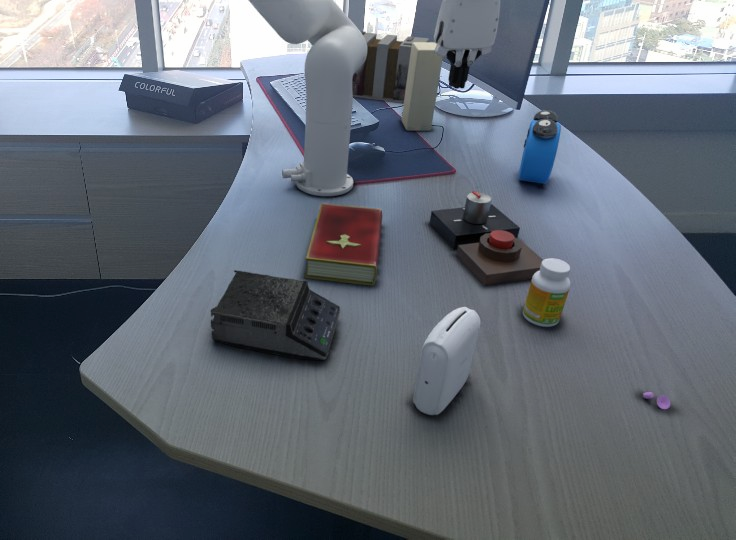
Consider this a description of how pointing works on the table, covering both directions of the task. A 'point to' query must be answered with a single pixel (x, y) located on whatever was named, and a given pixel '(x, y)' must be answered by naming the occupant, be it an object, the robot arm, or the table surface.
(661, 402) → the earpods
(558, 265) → the supplement bottle
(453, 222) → the control panel
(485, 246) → the button block
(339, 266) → the hardcover book
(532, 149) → the alarm clock
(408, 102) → the toy refrigerator
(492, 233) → the button
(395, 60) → the bookend
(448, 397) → the photo printer
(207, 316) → the table surface
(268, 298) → the electronic device
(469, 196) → the timer knob
